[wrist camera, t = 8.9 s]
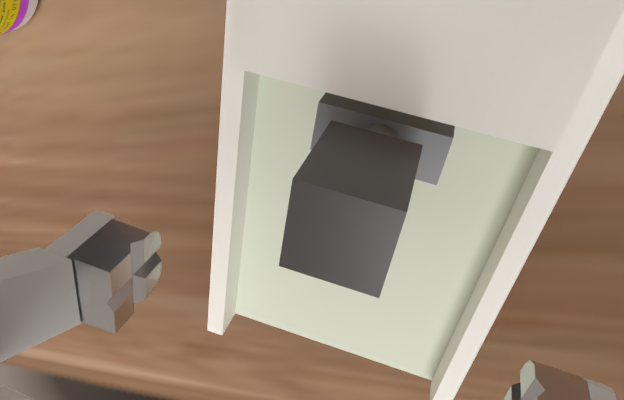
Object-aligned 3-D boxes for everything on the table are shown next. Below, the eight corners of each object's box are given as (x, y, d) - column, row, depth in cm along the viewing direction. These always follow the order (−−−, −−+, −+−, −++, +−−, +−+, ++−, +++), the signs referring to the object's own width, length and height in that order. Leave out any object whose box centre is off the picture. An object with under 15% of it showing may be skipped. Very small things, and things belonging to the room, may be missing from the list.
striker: (462, 85, 21) (447, 223, 12) (440, 147, 23) (414, 309, 14) (347, 56, 22) (256, 167, 13) (335, 119, 23) (246, 255, 15)
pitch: (684, -109, 17) (805, -108, 11) (448, 372, 31) (439, 495, 25) (269, -184, 19) (163, -220, 13) (227, 298, 34) (167, 393, 27)
